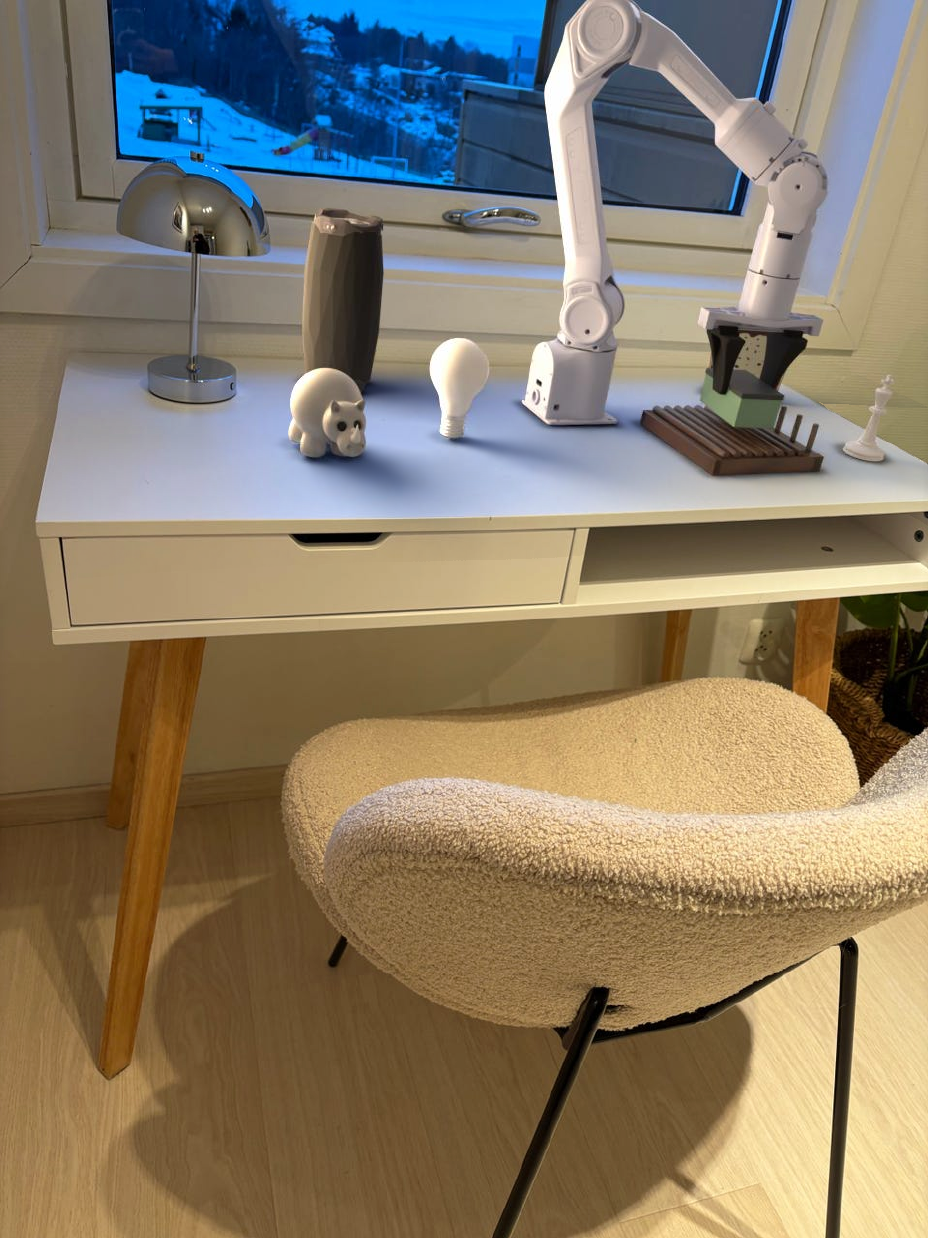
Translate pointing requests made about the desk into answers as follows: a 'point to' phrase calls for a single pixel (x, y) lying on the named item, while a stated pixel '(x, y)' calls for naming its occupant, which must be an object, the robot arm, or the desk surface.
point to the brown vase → (343, 293)
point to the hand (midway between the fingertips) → (741, 392)
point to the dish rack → (732, 442)
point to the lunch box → (743, 400)
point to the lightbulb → (458, 381)
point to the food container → (752, 353)
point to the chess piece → (871, 427)
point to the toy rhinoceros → (328, 414)
